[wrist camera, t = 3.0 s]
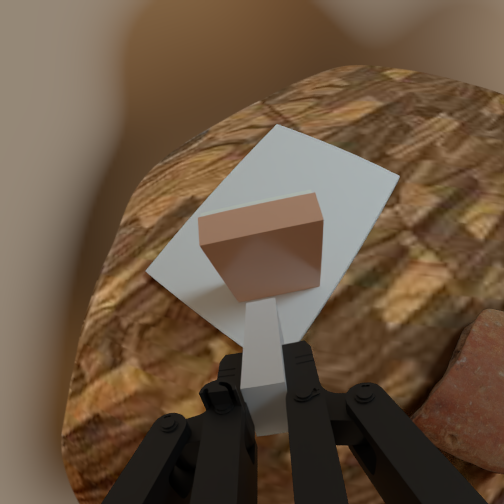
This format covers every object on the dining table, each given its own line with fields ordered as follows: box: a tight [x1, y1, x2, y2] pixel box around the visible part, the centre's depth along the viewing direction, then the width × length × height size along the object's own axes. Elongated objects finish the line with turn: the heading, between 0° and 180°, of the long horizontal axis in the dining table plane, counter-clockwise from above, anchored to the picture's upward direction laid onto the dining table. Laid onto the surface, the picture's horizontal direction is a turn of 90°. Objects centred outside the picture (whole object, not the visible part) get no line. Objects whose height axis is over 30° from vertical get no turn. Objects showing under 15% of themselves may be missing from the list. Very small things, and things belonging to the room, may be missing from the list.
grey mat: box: [146, 124, 400, 347], centre depth 34 cm, size 26×18×1 cm
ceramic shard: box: [410, 309, 504, 474], centre depth 21 cm, size 15×6×15 cm
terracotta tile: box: [198, 190, 324, 302], centre depth 26 cm, size 2×8×12 cm, turn 98°
